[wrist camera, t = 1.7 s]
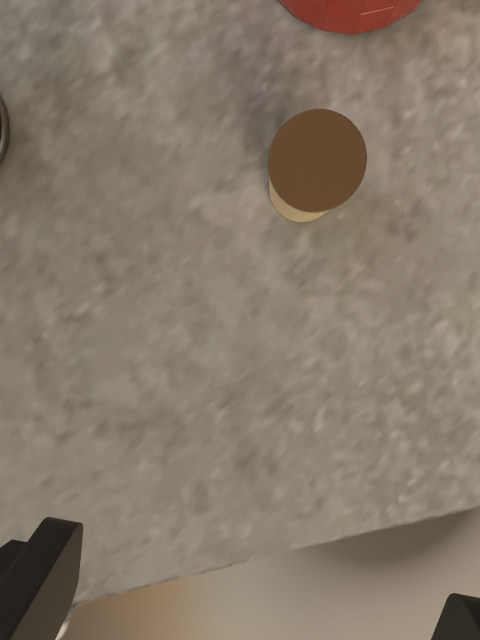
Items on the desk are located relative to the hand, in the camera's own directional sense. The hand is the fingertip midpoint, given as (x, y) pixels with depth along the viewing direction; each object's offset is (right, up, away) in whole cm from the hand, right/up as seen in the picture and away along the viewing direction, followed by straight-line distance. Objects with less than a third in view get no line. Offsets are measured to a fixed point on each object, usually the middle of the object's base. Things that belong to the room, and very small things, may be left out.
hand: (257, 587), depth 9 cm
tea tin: (+5, +16, +22) cm, 28 cm away
